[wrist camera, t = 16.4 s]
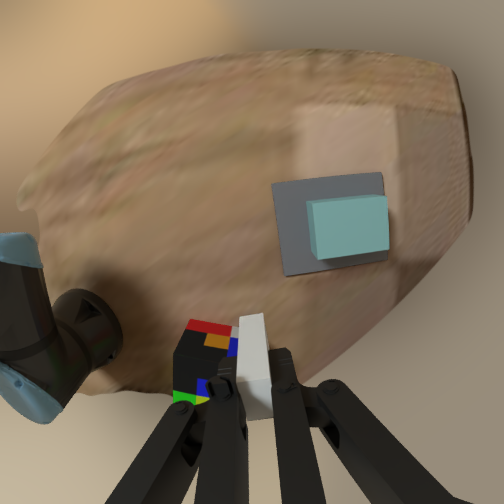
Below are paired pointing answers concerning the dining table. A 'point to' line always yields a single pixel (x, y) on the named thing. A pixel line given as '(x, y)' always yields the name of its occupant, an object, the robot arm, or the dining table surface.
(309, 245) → the rubber mat
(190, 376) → the puzzle toy
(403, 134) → the dining table surface
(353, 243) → the teal block
